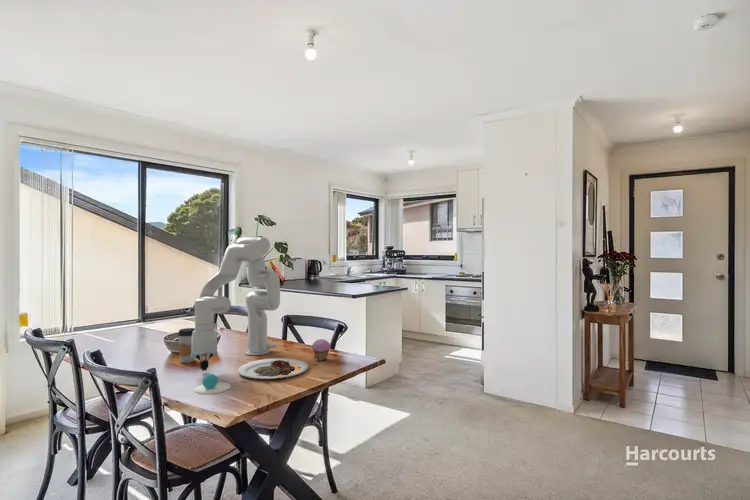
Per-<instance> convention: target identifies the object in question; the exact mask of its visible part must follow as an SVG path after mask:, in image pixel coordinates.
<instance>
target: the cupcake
mask: <svg viewBox="0 0 750 500" xmlns="http://www.w3.org/2000/svg"><path fill="white" fill-rule="evenodd" d="M311 349H312V351H313V356H314V360H315V359H317V360H322V361H325V360H324V359H326V360H327V358H328V355H329V352H330V351H329V350H331V343H330V342H329V341H328V340H327V339H324V338H320V339H316V340H315V341H314V342H313V343H312V345H311ZM317 360H316V361H317Z"/></svg>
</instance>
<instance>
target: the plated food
mask: <svg viewBox="0 0 750 500" xmlns="http://www.w3.org/2000/svg"><path fill="white" fill-rule="evenodd" d="M289 363H290V364H296V365H298V366H300V367H301V370H300V371H299V372H297V373H295V374H292V375H288V374H289V373H291V371H294V370H295V367H293V366H290V364H289ZM308 369H309V364H308V363H307V362H305V361H303V360H300V359H297V358H286V357H285V358H284V357H283V358H282V357H278V358H263V359H258V360H253V361H250V362H247V363H244V364H242V365H240V366H239V368H238V369H237V373H238V374H239V375H240V376H242V377H245V378H249V379H250V378H251V379H257V380H278V379H277V378H279V379H283V378H284V377H285V378H289V377H293V376H296V375H299V374H301V373H302V374H303V373H304V372H306V371H307V370H308ZM280 374H281V375H288V376H283V377H278V375H280ZM256 375H258V376H260V377H258V376H256ZM253 376H254V377H253Z"/></svg>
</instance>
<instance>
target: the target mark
mask: <svg viewBox="0 0 750 500" xmlns="http://www.w3.org/2000/svg"><path fill="white" fill-rule="evenodd" d="M229 388H230V389H231V388H232V387H231V384H230V383H228V382H221V381H218V383H217V385H216V386H215V387H214V388H212V389H207V388H205V387H204V386H203V384H201V385H198V386H196V387H195V388H194V392H195V393H197V394H200V395H213V393H215V394H219V393H224V392H227V391H228V390H229ZM223 391H224V392H223Z"/></svg>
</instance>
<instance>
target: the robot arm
mask: <svg viewBox="0 0 750 500" xmlns="http://www.w3.org/2000/svg"><path fill="white" fill-rule="evenodd" d="M270 249H271V242H270V240H269V238H267V237H265V236H264V237H263V236H243V237H240V238H238V239H237V240H236V243H233V244H231V245H228V246H227V248H226V250H225V252H224V254H223V257H222V261H221V263H220V266H219V269H218V271H217V273H216V274H214V275H213V276H212V277H211V278H210V279H209V280H208V281H207V283H205V285H204V286H203V287H202V289H201V291H200V295H199V298H197V299H195V300H194V328H195V330H194V331H193V332H192V339H191V357H192V358H195V359H198V360H199V364H200V365H199V366H200V369H201V370H202V371H203V372H204V371H207V370H208V369H209V361H210V359H211V358H212V357H214V356H217V355H218V342H217V341H218V340H217V332H216V329H215V328H217V327H218V323H216V322H215V321H214V319H215V314H225V313H226V312H227V313H228V311H229V310H230V309H231V305H232V303H231V300H230V299H229V298H228V297H226V296H222V295H215V293H216V292H217V291H218V290H219V289H220V288H221V287H223V286H225V285H227V284H229V283H231V282H233V281H235V280H236V279H237V278H238V275H239V271H240V268H241V265H242V263H247V275H248V277H247V278H248V279H247V280H248V286H249V287H250V288H252V289H257V290H254V291H253V290H252V291H250V292H249V293H248V294H247V295H246V298H245V304H246V310H247V348H246V349H245V350H244V354H245V355H247V356H263V355H267V354H269V353H270V352H271V349H272V348H273V349H274V348H277V343H269V342H268V316H267V314H266V311H277V310H278V309H279V308H280V307H279V306H280V305H281V304H280V303H281V283H280V277H279V274H278V273H277V272H276V271H275V270H271V269H266V261H265V257H264V256H265V255H266V254H268V252H269V250H270ZM258 289H261V290H258ZM262 290H263V291H262ZM264 290H265V291H264ZM204 355H205V358H204Z"/></svg>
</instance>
